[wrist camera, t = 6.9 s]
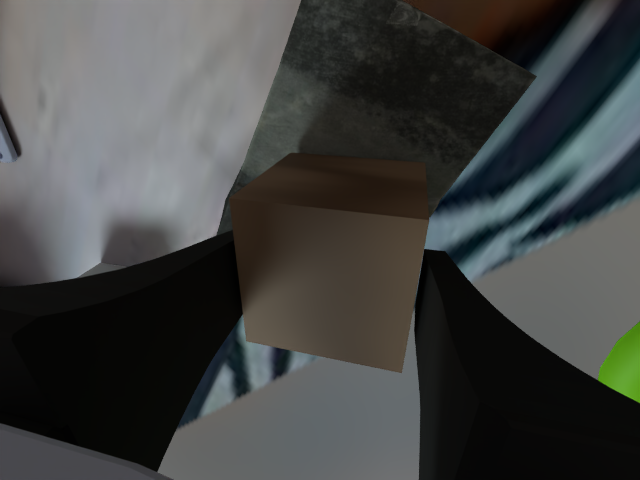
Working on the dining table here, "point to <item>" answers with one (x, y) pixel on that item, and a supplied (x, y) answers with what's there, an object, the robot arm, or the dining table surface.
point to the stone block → (381, 93)
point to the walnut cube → (332, 255)
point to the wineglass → (624, 365)
